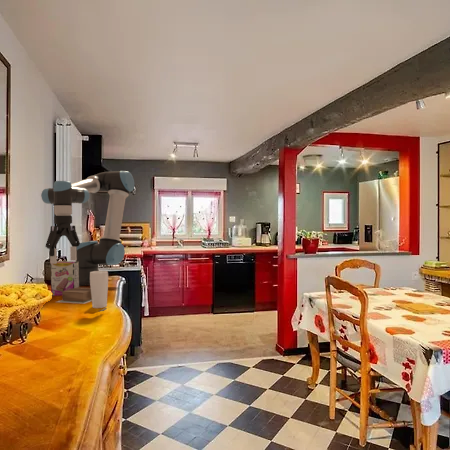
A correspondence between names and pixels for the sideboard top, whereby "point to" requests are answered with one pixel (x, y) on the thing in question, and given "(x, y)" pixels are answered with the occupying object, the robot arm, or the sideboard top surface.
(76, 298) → the walnut block
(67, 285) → the candy bar box
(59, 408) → the sideboard top surface
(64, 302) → the board
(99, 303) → the drinking glass
